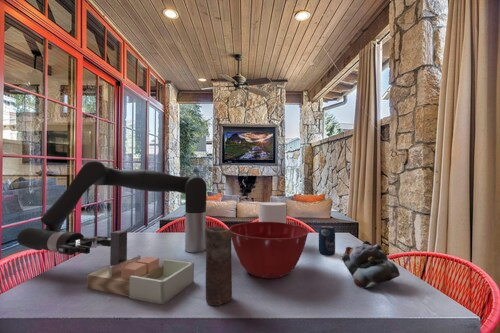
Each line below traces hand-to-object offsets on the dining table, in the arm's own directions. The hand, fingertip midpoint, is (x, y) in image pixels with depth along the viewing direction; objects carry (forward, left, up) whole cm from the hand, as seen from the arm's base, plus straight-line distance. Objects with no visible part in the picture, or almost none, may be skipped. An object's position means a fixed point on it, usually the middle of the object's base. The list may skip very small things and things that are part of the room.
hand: (100, 246), depth 88 cm
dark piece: (-5, +6, -6) cm, 10 cm away
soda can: (-85, +21, -11) cm, 88 cm away
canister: (-74, -4, -11) cm, 75 cm away
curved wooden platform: (-7, +9, -10) cm, 15 cm away
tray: (-16, +20, -10) cm, 27 cm away
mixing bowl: (-52, +24, -11) cm, 58 cm away
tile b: (-8, +15, -6) cm, 18 cm away
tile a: (-13, +11, -6) cm, 18 cm away
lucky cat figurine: (-75, +48, -11) cm, 90 cm away
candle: (-28, +34, -11) cm, 45 cm away
